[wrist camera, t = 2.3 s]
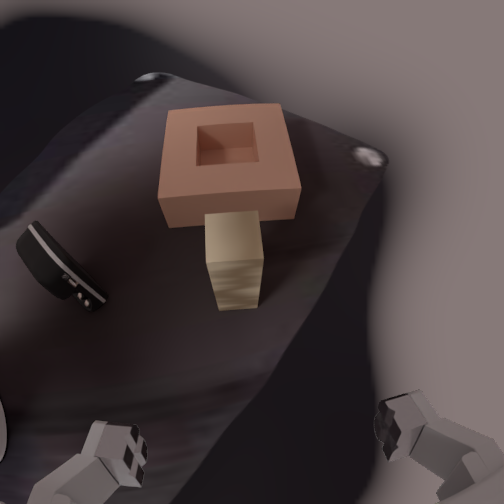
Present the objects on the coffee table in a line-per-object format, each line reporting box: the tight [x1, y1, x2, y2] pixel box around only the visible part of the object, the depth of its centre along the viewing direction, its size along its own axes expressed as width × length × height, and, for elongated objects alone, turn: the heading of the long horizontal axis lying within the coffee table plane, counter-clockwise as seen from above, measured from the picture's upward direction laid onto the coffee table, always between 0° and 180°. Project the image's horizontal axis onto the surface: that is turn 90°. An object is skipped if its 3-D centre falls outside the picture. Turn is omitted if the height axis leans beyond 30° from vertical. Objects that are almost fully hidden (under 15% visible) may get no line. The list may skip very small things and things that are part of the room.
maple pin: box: [205, 211, 264, 311], centre depth 28 cm, size 4×4×12 cm
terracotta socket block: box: [158, 103, 302, 228], centre depth 38 cm, size 15×15×6 cm
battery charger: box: [16, 221, 108, 311], centre depth 28 cm, size 7×4×11 cm, turn 53°
